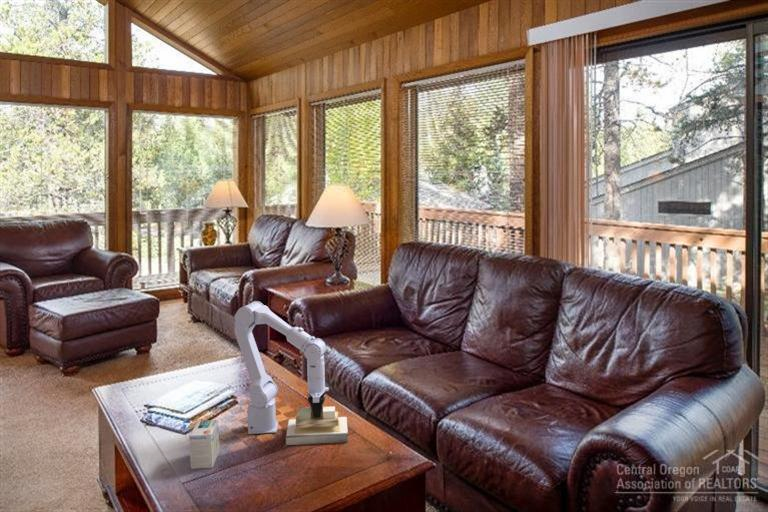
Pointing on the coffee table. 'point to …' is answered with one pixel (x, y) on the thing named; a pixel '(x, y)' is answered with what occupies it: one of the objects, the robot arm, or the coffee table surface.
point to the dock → (317, 433)
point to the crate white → (328, 412)
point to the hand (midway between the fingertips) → (317, 414)
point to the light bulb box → (204, 444)
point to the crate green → (304, 413)
